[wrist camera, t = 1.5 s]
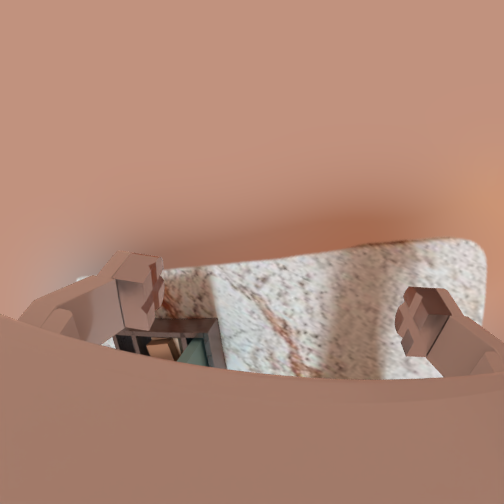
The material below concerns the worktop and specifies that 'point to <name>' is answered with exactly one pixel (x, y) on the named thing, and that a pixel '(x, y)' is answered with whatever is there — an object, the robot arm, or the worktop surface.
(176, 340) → the birch offcut
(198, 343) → the teal panel
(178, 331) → the rack
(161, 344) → the walnut offcut
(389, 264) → the worktop surface
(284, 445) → the robot arm
